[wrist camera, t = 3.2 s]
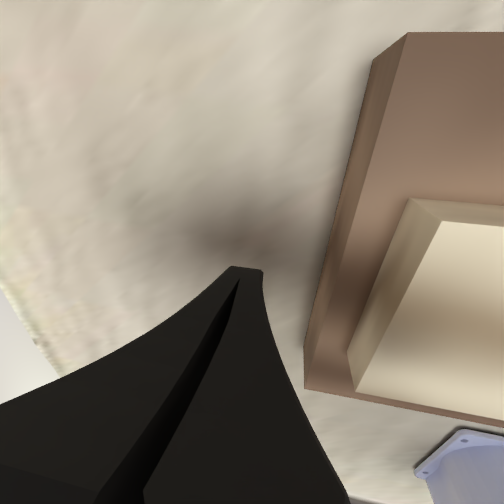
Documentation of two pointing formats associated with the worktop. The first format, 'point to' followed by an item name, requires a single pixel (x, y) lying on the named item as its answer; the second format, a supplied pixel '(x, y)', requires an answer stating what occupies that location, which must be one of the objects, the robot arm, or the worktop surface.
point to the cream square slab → (437, 311)
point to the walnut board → (406, 180)
